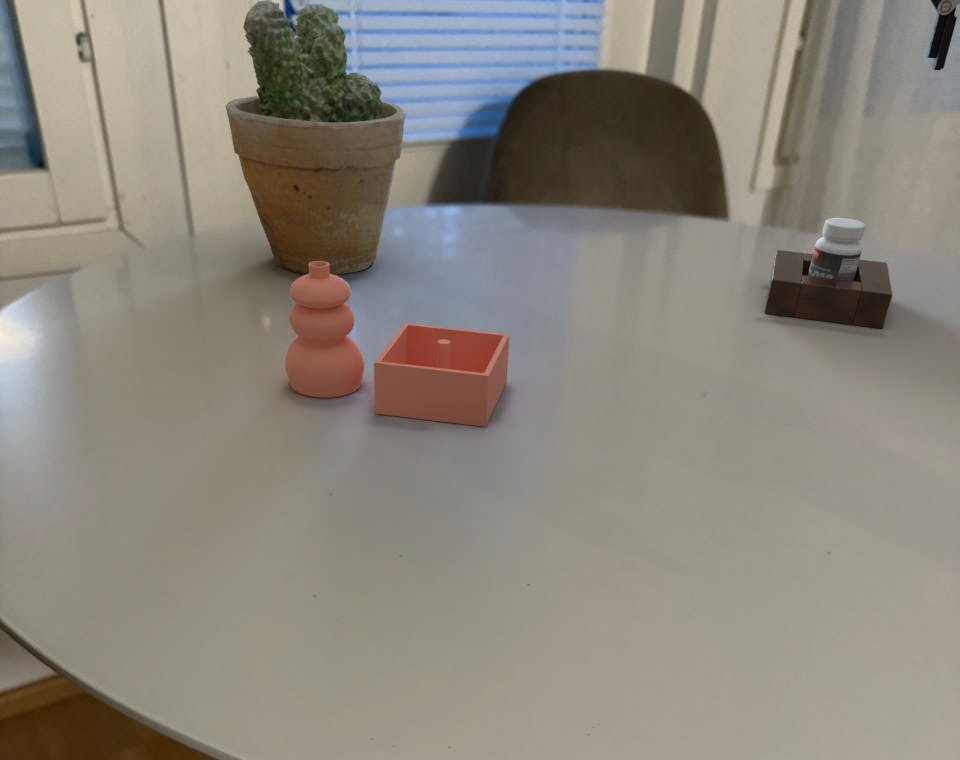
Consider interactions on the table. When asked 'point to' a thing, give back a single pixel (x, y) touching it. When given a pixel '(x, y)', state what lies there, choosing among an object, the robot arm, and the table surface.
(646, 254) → the table surface
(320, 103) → the potted plant
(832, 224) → the pill bottle
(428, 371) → the pottery
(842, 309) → the holder
